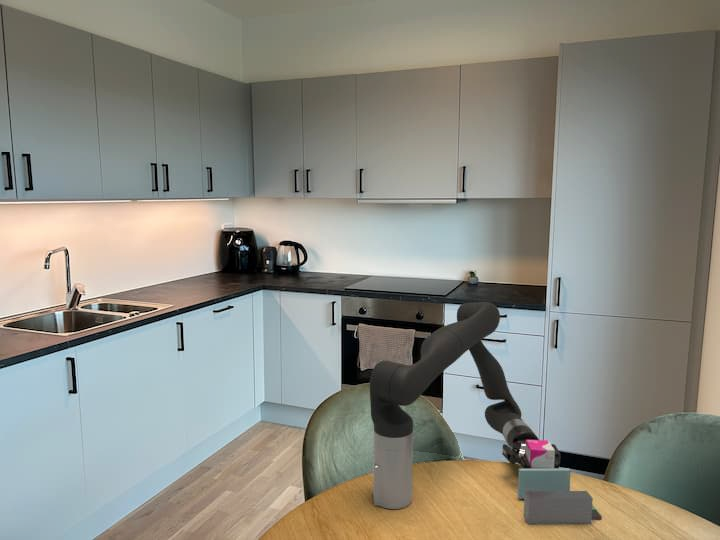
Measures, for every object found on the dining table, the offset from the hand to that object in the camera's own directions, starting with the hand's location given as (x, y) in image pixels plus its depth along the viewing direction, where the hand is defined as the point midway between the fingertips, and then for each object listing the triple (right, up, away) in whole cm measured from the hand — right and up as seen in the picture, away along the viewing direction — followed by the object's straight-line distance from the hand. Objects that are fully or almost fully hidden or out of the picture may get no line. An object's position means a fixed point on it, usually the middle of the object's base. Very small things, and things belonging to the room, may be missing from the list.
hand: (542, 468), depth 126 cm
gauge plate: (+2, -7, 0) cm, 7 cm away
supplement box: (0, -6, +3) cm, 7 cm away
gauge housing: (+2, -8, -5) cm, 9 cm away
